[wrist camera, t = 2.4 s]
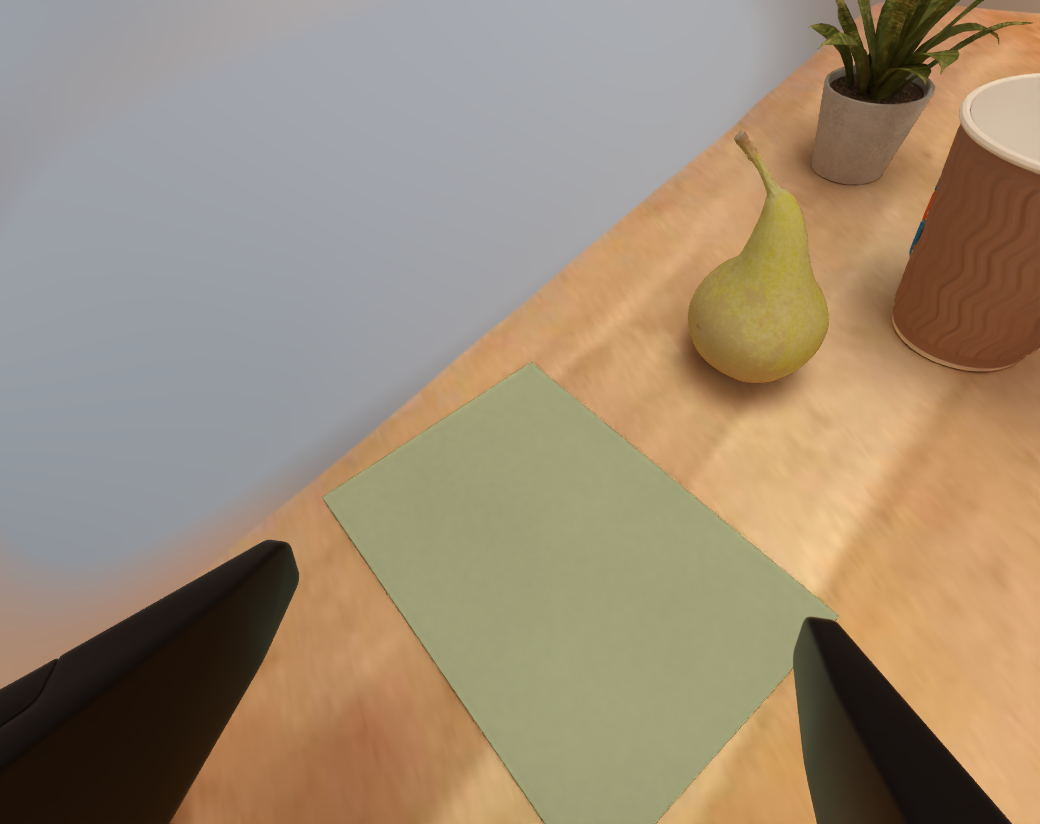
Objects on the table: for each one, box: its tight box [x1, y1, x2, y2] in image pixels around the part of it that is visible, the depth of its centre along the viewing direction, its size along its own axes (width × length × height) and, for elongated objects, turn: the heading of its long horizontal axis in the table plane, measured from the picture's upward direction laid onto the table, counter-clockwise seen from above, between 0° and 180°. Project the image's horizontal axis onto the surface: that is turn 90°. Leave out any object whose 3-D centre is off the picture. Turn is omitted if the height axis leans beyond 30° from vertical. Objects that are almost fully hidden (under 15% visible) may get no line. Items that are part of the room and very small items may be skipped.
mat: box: [323, 362, 839, 824], centre depth 26 cm, size 20×14×1 cm
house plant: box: [810, 0, 1031, 185], centre depth 38 cm, size 14×14×16 cm
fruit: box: [688, 131, 829, 383], centre depth 29 cm, size 7×8×12 cm
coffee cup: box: [892, 73, 1040, 371], centre depth 29 cm, size 10×10×12 cm
